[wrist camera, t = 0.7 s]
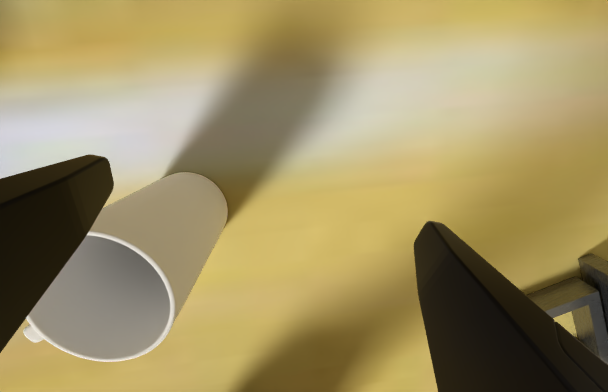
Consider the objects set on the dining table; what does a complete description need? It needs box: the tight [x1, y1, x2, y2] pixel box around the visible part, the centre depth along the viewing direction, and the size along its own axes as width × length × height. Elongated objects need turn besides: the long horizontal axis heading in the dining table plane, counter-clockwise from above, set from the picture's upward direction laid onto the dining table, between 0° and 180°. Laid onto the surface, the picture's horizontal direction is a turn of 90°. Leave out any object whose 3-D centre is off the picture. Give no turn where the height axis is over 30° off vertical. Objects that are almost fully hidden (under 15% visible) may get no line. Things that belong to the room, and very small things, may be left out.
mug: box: [23, 172, 228, 362], centre depth 19 cm, size 10×7×12 cm, turn 122°
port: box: [526, 254, 608, 364], centre depth 26 cm, size 10×12×6 cm
